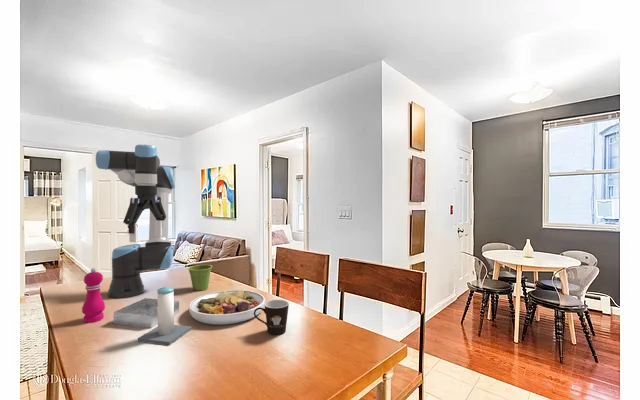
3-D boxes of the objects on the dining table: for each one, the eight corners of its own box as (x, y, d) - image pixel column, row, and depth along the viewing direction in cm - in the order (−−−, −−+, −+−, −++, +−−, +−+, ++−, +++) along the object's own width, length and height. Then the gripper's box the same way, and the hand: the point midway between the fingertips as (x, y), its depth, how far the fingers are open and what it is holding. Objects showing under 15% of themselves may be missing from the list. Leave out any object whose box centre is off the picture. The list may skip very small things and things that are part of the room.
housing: (145, 308, 133) (145, 298, 133) (179, 311, 130) (179, 300, 130) (113, 324, 117) (113, 312, 117) (151, 327, 114) (151, 315, 114)
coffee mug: (292, 328, 115) (292, 301, 115) (282, 338, 107) (282, 309, 107) (264, 323, 119) (264, 297, 119) (252, 333, 111) (252, 305, 110)
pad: (162, 326, 116) (162, 323, 116) (191, 329, 113) (191, 326, 113) (137, 341, 104) (137, 338, 104) (169, 344, 102) (169, 341, 102)
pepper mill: (93, 324, 117) (92, 270, 117) (77, 322, 119) (76, 269, 118) (109, 316, 124) (109, 266, 124) (94, 315, 126) (94, 265, 125)
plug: (164, 328, 112) (164, 286, 111) (177, 329, 111) (176, 287, 110) (154, 334, 107) (154, 290, 106) (167, 335, 106) (167, 291, 105)
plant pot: (195, 285, 168) (195, 264, 168) (216, 286, 166) (216, 265, 166) (182, 291, 156) (182, 269, 156) (205, 293, 154) (205, 270, 154)
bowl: (176, 313, 129) (176, 294, 129) (239, 296, 151) (239, 280, 151) (212, 336, 109) (212, 313, 109) (279, 312, 131) (279, 293, 131)
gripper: (159, 184, 135) (159, 233, 136) (111, 184, 111) (112, 244, 112) (175, 185, 134) (175, 234, 135) (130, 185, 109) (130, 245, 110)
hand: (146, 239), depth 123 cm, fingers open, 13 cm apart
